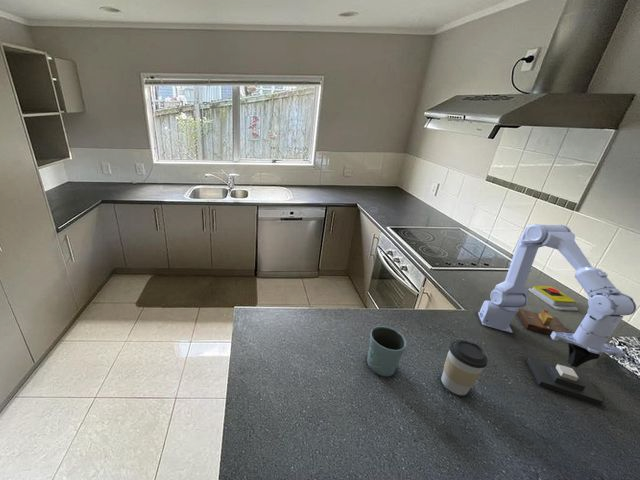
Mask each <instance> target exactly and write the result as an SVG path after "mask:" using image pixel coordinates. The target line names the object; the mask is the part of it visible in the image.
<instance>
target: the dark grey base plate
mask: <svg viewBox="0 0 640 480" xmlns="http://www.w3.org/2000/svg"><path fill="white" fill-rule="evenodd" d="M526 363H527V365H528V367H529V369H530V372H531V373H532V375H533V377H534V379H535V381H536V383H537V385H538V386H540V387H542V388H543V387H544V388H545V389H549V390H553V391H556V392H558V393H561V394H565V395H568V396H570V397H573V398H576V399H580V400H583V401H586V402H589V403H592V404H596V405H598V406H602V404H603V403H604V400H603V398H602V396H600V394H599V393H598V391H597V390H596V389H595V387H594V386H593V384H592V383H591V381H590V380H589V379H588V377H587V376H586V374H585V373H581V372H578V371H576V370H575V369H573V370H574V371H575V373H576V374H577V376H578V377H579V378H578V379H577V381H574V380H570V379H567V378H564V377H561V376H560V375H559V373H558V372H557V370H556V369H555V367H556V366H557V364H556V363H553V362H549V361H547V362H544V361H542V360H538V359H534V358H532V357H528V358H527V359H526Z"/></svg>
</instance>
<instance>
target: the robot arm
mask: <svg viewBox="0 0 640 480" xmlns="http://www.w3.org/2000/svg"><path fill="white" fill-rule="evenodd" d="M575 240H576V235H575V233H573V231H572V230H571V228H570V227H568V226H567V225H564V224H540V223H534V224H533V223H532V224H530V225H528V226H525V227H524V230H523V234H521V235H520V237H519V239H518V242H517V244H516V247H515V250H514V253H513V256H512V259H511V262H510V265H509V267H508V271H507V273H506V276H505V280H504V281H501V282H500V283H498V284H496V285H495V286H494V288H493V290H492V291H490V297H489V298H490V300H484V301H483V303H482V305H481V307H480V310H479V312H477V314H478V318H479V320H480V322H481V325H482V326H485V327H489V328H492V329H496V330H500V331H503V332H507V333H509V334H513V329H512V328H511V326H510V325H511V323H512V322H513V320H514V317H515V316H516V314H517V313H518V311H519V309H521V308H524V307H526V306H527V305H528V303H529V298H528V295H529V290H528V289H527V288H526V287H525V285H526V284H527V283H526V282H527V280H528V277H529V275H530V272H531V269H532V267H533V264H534V261H535V259H536V255H537V253H538V250H539V249H540V248H543V247H547V248H551V249H554V250H558V252H559V253H560V254H561V255H562V256H563V257H564V258H565V260H566V261H567V262H568V263H569V265H570V266H571V267H572V268H573V269H574V271H575V274H574V278H575V279H576V282H578V284H579V285H580V286H581V288H582V289H583V290H584V292H585V293H586V294H587V296H588V299H587V305H588V309H587V310H586V312H587V313H586V314H585V316H584V318H583V319H582V320H581V322H580V324H579V325H578V327H577V328H576V330H575V332H574V333H571V332H570V333H561V332H555V331H553V332H552V334H551V335H549V336H550V338H551V339H552V340H553V341H556V342H558V341H560V342H563V343H567V346H568V356H567V363H568V364H569V366H570V367H572V368H578V367H580V366H581V365H583V364H585V363H587V362H589V361H593V360H598V359H599V358H600V356H601V355H600V354H599V353H604V354H608V355H612V356H614V357H615V358H618V359H622V357H623V355H624V354H625V353H624V352H623V351H622V349H621V348H619V347H616V346H613V345H610V344H608V343H607V341H608V340H609V339H610V337H611V336H612V334H613V333H614V331H615V330H616V328H617V327H618V326H619V325H620V323H621V321H622V319H623V318H624V316H631V315H633V314H634V313H636V310H637V304H636V302H635V301H634V298H633V297H631V296H630V295H628V294H626V293H624V292H622V291H621V290H619V289H618V288H617V287H616V286H615V285H614V284H613V282H612V281H611V280H610V279H609V278H608V274H607V273H606V271H603V270H602V269H600V268H597V267H594V266H592V264H591V263H590V261H589V259H588V258H587V257H586V255H585V254H584V253H583V251H582V250H581V248H580V246H579V245H578V244H577V242H576V241H575Z"/></svg>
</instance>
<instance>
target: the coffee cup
mask: <svg viewBox="0 0 640 480" xmlns="http://www.w3.org/2000/svg"><path fill="white" fill-rule="evenodd" d="M448 348H449V349H448V351H447V355H446V358H445V362H444V365H443V371H442V373H441V374H442V375H441V379H440V380H441V382H442V385H443V386H444V387H445V388H446V389H447V390H448V391H449V392H451V393H453V394H455V395H458V396H466V395H467V394H468V393H469V391H470V389H471V388H472V387H473V386H474V385H475V383H476V382H477V380H478V379H479V377H480V376H481V375H482V373H483V371H484V369H485V368H486V367H487V365H488V362H489V361H488V357H487V356H486V354H485V353H484V351H483V348H482V347H481V346H479V345H478V344H476V343H475V342H474V343H473V342H470V341H467V340H465V339H464V340H461V339H460V340H458V339H457V340H454V341H451V343H450V344H449V346H448Z"/></svg>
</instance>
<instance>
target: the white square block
mask: <svg viewBox="0 0 640 480" xmlns="http://www.w3.org/2000/svg"><path fill="white" fill-rule="evenodd" d="M556 365H557V366H556V367H555V369H556V370H557V372H558V373H559V375H560V376H561V377H564V378H567V379H570V380H574V381H577V379H578V378H579V377H578V376H577V374H576V373H575V372H576V370H575V369H574V368H573V367H572V368H571V367H569V366H566V365H562V364H559V363H557V364H556ZM574 370H575V371H574Z"/></svg>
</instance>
